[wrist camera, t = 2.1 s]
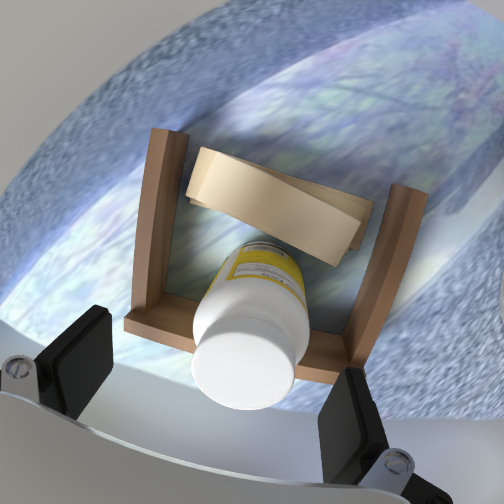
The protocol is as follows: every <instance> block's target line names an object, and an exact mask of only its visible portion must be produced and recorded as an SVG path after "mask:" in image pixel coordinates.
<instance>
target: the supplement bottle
mask: <svg viewBox="0 0 504 504" xmlns="http://www.w3.org/2000/svg"><path fill="white" fill-rule="evenodd" d="M193 335H194V340H195V343H196V346H197V347H196V349H195V352H194V354H193V357H192V364H191V367H192V374H193V377H194V379H195V381H196V383H197V385H198V386H199V388H200V389H201V390H202V391H203V392H204V393H205V394H206V395H207V396H208V397H210V398H211V399H213V400H214V401H216V402H217V403H219V404H222V405H224V406H227V407H230V408H235V409H241V410H255V409H261V408H265V407H269V406H271V405H274V404H276V403H277V402H279V401H280V400H282V399H283V398H284V397H285V396H286V395H287V394H288V393H289V391H290V390H291V388H292V386H293V383H294V380H295V366H296V365H297V364H298V363H299V361H300V360H301V359H302V357H303V356H304V354H305V351H306V349H307V346H308V342H309V318H308V311H307V303H306V295H305V288H304V281H303V276H302V272H301V269H300V266H299V264H298V262H297V261H296V259H295V258H294V257H293V256H292V255H291V254H290V253H289V252H288V251H287V250H286V249H284V248H283V247H281V246H279V245H276V244H274V243H270V242H261V241H260V242H251V243H247V244H245V245H242V246H240V247H239V248H237V249H236V250H234V251H233V252H232V253H231V254H230V255H229V256H228V257H227V259H226V260H225V261H224V263H223V265H222V266H221V268H220V270H219V271H218V273H217V275H216V277H215V278H214V280H213V282H212V283H211V285H210V287H209V289H208V290H207V292H206V294H205V296H204V297H203V299H202V301H201V302H200V304H199V306H198V308H197V311H196V313H195V317H194V321H193Z"/></svg>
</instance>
